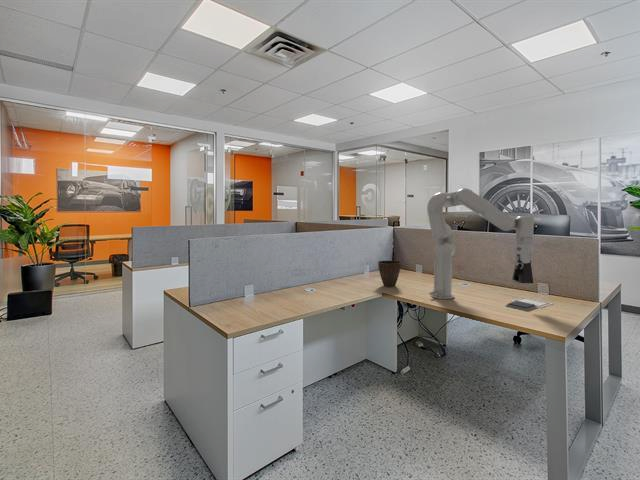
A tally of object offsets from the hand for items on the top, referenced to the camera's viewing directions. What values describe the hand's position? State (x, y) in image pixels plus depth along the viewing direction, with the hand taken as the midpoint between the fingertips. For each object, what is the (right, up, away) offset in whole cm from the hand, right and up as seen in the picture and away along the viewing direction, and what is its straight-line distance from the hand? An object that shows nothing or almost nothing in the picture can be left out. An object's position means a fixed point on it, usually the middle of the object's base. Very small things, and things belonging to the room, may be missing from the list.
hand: (522, 275), depth 169 cm
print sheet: (+10, -16, +9) cm, 21 cm away
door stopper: (0, -3, 0) cm, 3 cm away
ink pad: (0, -16, +1) cm, 16 cm away
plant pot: (-57, -13, +52) cm, 79 cm away
